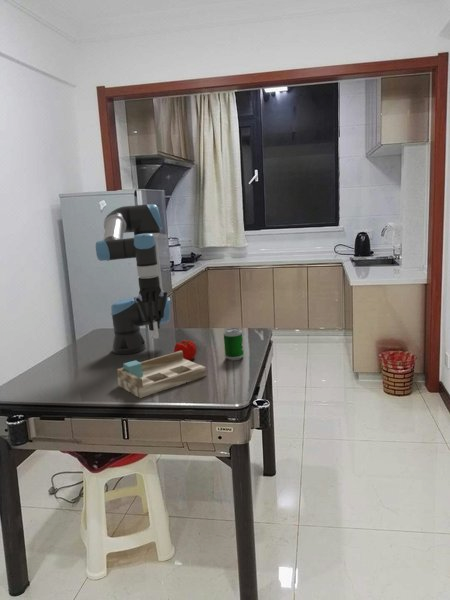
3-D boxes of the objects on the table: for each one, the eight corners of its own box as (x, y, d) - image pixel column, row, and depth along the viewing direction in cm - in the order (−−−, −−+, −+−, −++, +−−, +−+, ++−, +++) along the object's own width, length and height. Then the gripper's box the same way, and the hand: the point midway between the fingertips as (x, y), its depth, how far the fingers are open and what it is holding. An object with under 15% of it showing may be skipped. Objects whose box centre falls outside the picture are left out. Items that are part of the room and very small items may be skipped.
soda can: (242, 360, 205) (240, 332, 202) (224, 361, 206) (221, 332, 204) (245, 354, 212) (243, 327, 209) (227, 355, 214) (225, 327, 211)
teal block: (124, 376, 188) (123, 363, 187) (137, 372, 190) (135, 360, 189) (130, 379, 184) (129, 366, 182) (143, 376, 186) (141, 363, 185)
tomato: (180, 364, 207) (178, 346, 205) (172, 358, 215) (170, 341, 213) (201, 359, 211) (199, 342, 210) (192, 354, 219) (190, 337, 217)
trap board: (118, 385, 189) (116, 369, 187) (182, 365, 205) (180, 350, 203) (140, 398, 175) (138, 380, 174) (206, 375, 191) (204, 359, 190)
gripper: (159, 272, 192) (165, 331, 197) (127, 278, 185) (135, 339, 190) (169, 274, 186) (175, 335, 191) (136, 280, 179) (144, 344, 184)
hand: (155, 337), depth 191 cm, fingers closed
